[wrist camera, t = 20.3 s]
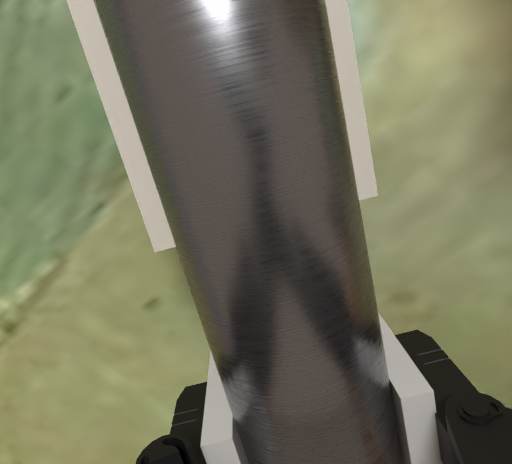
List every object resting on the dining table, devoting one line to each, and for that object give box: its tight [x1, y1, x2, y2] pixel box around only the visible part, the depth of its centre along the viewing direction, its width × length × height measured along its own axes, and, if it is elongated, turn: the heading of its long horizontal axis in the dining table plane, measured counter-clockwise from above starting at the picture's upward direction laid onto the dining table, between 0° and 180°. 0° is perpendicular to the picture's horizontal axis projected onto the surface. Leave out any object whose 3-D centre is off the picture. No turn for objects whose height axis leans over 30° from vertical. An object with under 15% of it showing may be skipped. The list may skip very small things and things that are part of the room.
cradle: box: [66, 0, 378, 252], centre depth 12 cm, size 11×7×4 cm, turn 14°
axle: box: [94, 0, 403, 464], centre depth 8 cm, size 24×4×4 cm, turn 14°
